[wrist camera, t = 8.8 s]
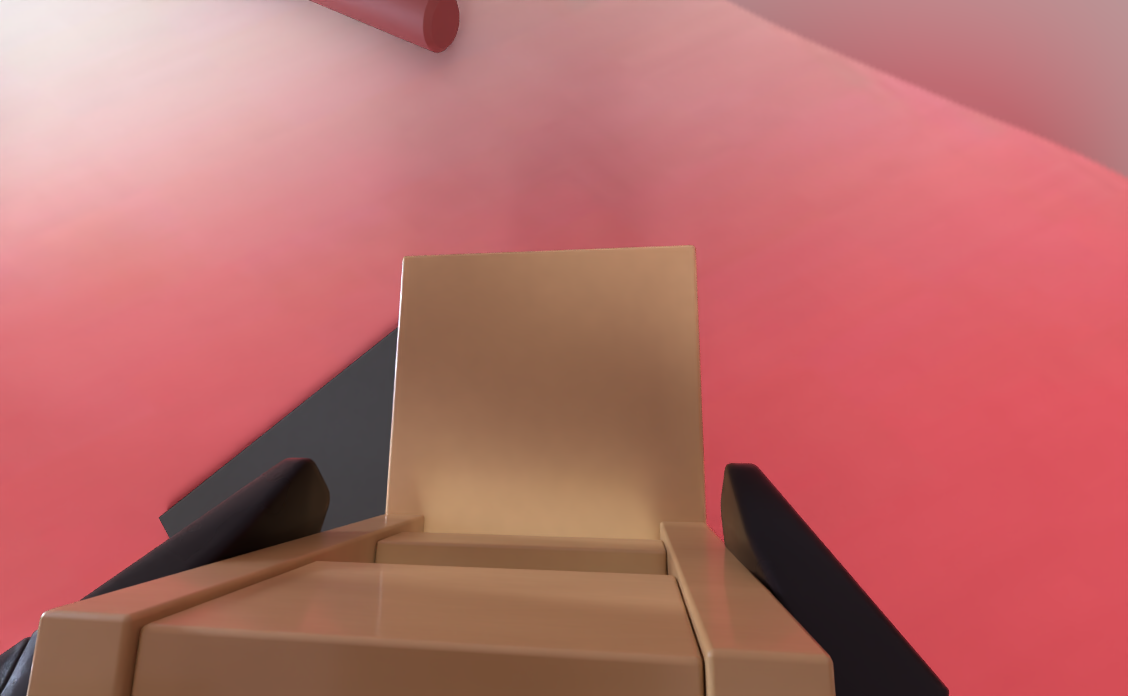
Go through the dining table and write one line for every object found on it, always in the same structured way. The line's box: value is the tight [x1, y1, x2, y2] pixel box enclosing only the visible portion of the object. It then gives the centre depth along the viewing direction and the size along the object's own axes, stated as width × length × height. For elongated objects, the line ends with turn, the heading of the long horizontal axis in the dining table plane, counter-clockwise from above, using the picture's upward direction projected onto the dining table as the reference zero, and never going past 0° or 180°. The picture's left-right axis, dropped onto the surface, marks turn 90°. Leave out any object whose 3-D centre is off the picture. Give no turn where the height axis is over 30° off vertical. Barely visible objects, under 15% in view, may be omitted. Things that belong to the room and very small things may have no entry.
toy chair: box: [26, 245, 836, 696], centre depth 10 cm, size 7×7×12 cm
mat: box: [159, 327, 398, 538], centre depth 18 cm, size 20×13×1 cm, turn 38°
